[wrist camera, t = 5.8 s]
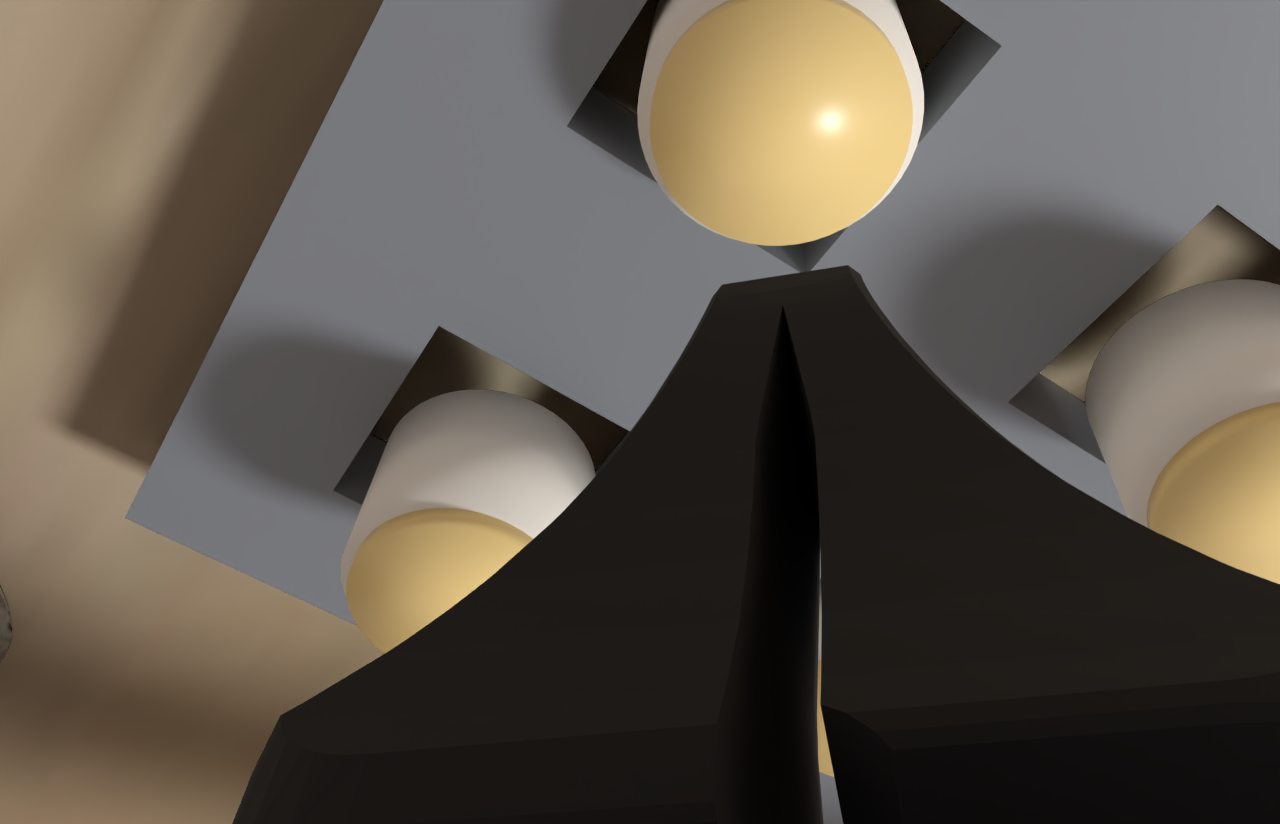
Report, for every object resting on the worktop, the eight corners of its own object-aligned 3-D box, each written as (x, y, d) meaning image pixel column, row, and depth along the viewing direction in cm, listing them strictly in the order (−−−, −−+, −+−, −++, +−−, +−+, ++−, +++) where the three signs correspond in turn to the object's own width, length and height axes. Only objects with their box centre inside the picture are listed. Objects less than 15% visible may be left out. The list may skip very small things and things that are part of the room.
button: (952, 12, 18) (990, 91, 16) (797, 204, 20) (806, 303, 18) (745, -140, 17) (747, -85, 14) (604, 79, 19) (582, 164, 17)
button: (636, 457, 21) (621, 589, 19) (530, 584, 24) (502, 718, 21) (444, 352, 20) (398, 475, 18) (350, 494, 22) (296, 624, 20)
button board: (1648, 248, 20) (1728, 308, 18) (890, 807, 30) (898, 877, 29) (680, -564, 15) (674, -580, 13) (164, 456, 25) (125, 517, 23)
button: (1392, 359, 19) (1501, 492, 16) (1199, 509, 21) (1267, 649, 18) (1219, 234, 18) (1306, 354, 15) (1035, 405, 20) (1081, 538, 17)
